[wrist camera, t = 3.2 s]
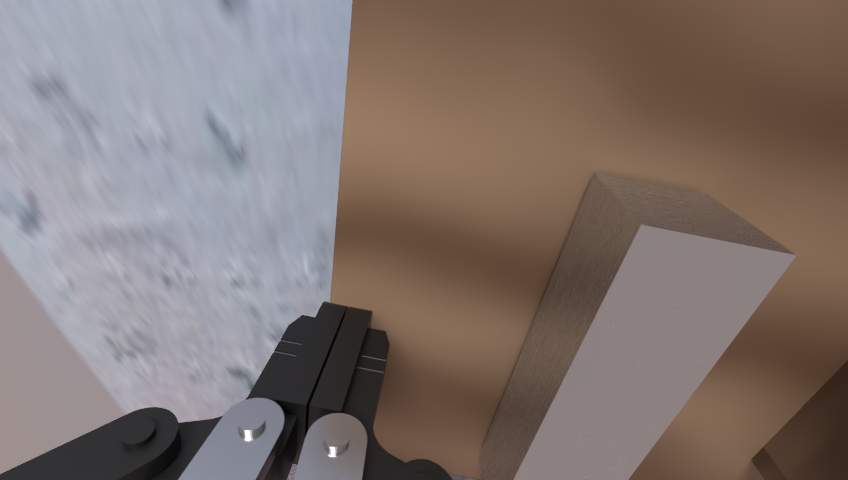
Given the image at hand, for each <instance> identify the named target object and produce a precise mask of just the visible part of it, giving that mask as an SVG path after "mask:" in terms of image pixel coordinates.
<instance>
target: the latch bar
mask: <svg viewBox="0 0 848 480" xmlns="http://www.w3.org/2000/svg"><path fill="white" fill-rule="evenodd" d="M796 256H797V255H796V254H794V253H793V252H791V251H790V250H788V249H787V248H785V247H784V246H782V245H781V244H780V243H778V242H777V241H775V240H774V239H772V238H771V237H769V236H768V235H766V234H765V233H764V232H762V231H761V230H759V229H758V228H756V227H755V226H753V225H752V224H750V223H749V222H747V221H746V220H745V219H743V218H742V217H740V216H739V215H737V214H736V213H734V212H733V211H731V210H730V209H729V208H727V207H726V206H724V205H723V204H721V203H720V202H718V201H717V200H715V199H714V198H712V197H711V196H710V195H706V194H701V193H696V192H691V191H686V190H681V189H676V188H671V187H666V186H660V185H655V184H650V183H645V182H640V181H635V180H630V179H625V178H620V177H615V176H610V175H605V174H600V173H595V172H594V173H593V176H592V178H591V181H590V183H589V186H588V188H587V191H586V193H585V196H584V198H583V200H582V203H581V205H580V208H579V210H578V213H577V215H576V218H575V220H574V223H573V225H572V228H571V230H570V233H569V235H568V237H567V240H566V242H565V245H564V247H563V250H562V252H561V255H560V257H559V260H558V262H557V265H556V267H555V270H554V272H553V274H552V277H551V279H550V282H549V284H548V287H547V289H546V292H545V294H544V297H543V299H542V302H541V304H540V307H539V309H538V311H537V314H536V316H535V319H534V321H533V324H532V326H531V329H530V331H529V334H528V336H527V339H526V341H525V344H524V346H523V348H522V351H521V353H520V356H519V358H518V361H517V363H516V366H515V368H514V371H513V373H512V376H511V378H510V381H509V383H508V385H507V388H506V390H505V393H504V395H503V398H502V400H501V403H500V405H499V408H498V410H497V413H496V415H495V418H494V420H493V422H492V425H491V427H490V430H489V432H488V435H487V437H486V440H485V442H484V445H483V447H482V450H481V452H480V473H481V480H628V479H629V478H630V477H631V475H632V474H633V473H634V471H635V470H636V469H637V467H638V466H639V465H640V463H641V462H642V461H643V459H644V458H645V457H646V455H647V454H648V453H649V451H650V450H651V449H652V447H653V446H654V445H655V443H656V442H657V441H658V439H659V438H660V437H661V435H662V434H663V433H664V431H665V430H666V429H667V427H668V426H669V425H670V423H671V422H672V421H673V419H674V418H675V417H676V415H677V414H678V413H679V411H680V410H681V409H682V407H683V406H684V405H685V403H686V402H687V401H688V399H689V398H690V397H691V395H692V394H693V393H694V391H695V390H696V389H697V388H698V386H699V385H700V384H701V382H702V381H703V380H704V378H705V377H706V376H707V374H708V373H709V372H710V370H711V369H712V368H713V366H714V365H715V364H716V362H717V361H718V360H719V358H720V357H721V356H722V354H723V353H724V352H725V350H726V349H727V348H728V346H729V345H730V344H731V342H732V341H733V340H734V338H735V337H736V336H737V334H738V333H739V332H740V330H741V329H742V328H743V326H744V325H745V324H746V322H747V321H748V320H749V318H750V317H751V316H752V314H753V313H754V312H755V310H756V309H757V308H758V306H759V305H760V304H761V302H762V301H763V300H764V298H765V297H766V296H767V294H768V293H769V292H770V290H771V289H772V288H773V286H774V285H775V284H776V282H777V281H778V280H779V278H780V277H781V276H782V274H783V273H784V272H785V270H786V269H787V268H788V266H789V265H790V264H791V262H792V261H793V260H794V258H795V257H796Z"/></svg>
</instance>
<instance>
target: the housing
mask: <svg viewBox="0 0 848 480" xmlns="http://www.w3.org/2000/svg"><path fill="white" fill-rule="evenodd" d="M594 172H595V173H600V174H605V175H610V176H615V177H620V178H625V179H630V180H635V181H640V182H645V183H650V184H655V185H660V186H666V187H671V188H676V189H681V190H686V191H691V192H696V193H701V194H706V195H710V196H711V197H712V198H714V199H715V200H717V201H718V202H720V203H721V204H723V205H724V206H726V207H727V208H729V209H730V210H731V211H733V212H734V213H736V214H737V215H739V216H740V217H742V218H743V219H745V220H746V221H747V222H749V223H750V224H752V225H753V226H755V227H756V228H758V229H759V230H761V231H762V232H764V233H765V234H766V235H768V236H769V237H771V238H772V239H774V240H775V241H777V242H778V243H780V244H781V245H782V246H784V247H785V248H787V249H788V250H790V251H791V252H793V253H794V254H796V255H797V256H796V257H795V258H794V260H793V261H792V262H791V264H790V265H789V266H788V268H787V269H786V270H785V272H784V273H783V274H782V276H781V277H780V278H779V280H778V281H777V282H776V284H775V285H774V286H773V288H772V289H771V290H770V292H769V293H768V294H767V296H766V297H765V298H764V300H763V301H762V302H761V304H760V305H759V306H758V308H757V309H756V310H755V312H754V313H753V314H752V316H751V317H750V318H749V320H748V321H747V322H746V324H745V325H744V326H743V328H742V329H741V330H740V332H739V333H738V334H737V336H736V337H735V338H734V340H733V341H732V342H731V344H730V345H729V346H728V348H727V349H726V350H725V352H724V353H723V354H722V356H721V357H720V358H719V360H718V361H717V362H716V364H715V365H714V366H713V368H712V369H711V370H710V372H709V373H708V374H707V376H706V377H705V378H704V380H703V381H702V382H701V384H700V385H699V386H698V388H697V389H696V390H695V391H694V393H693V394H692V395H691V397H690V398H689V399H688V401H687V402H686V403H685V405H684V406H683V407H682V409H681V410H680V411H679V413H678V414H677V415H676V417H675V418H674V419H673V421H672V422H671V423H670V425H669V426H668V427H667V429H666V430H665V431H664V433H663V434H662V435H661V437H660V438H659V439H658V441H657V442H656V443H655V445H654V446H653V447H652V449H651V450H650V451H649V453H648V454H647V455H646V457H645V458H644V459H643V461H642V462H641V463H640V465H639V466H638V467H637V469H636V470H635V471H634V473H633V474H632V475H631V477H630V478H629V479H628V480H848V0H353V4H352V17H351V30H350V44H349V57H348V71H347V84H346V98H345V111H344V124H343V138H342V151H341V165H340V178H339V191H338V205H337V218H336V232H335V245H334V259H333V272H332V285H331V299H330V303H334V304H339V305H344V306H348V308H349V307H355V308H360V309H366V310H371V311H373V316H372V323H371V328H372V329H377V330H383V331H386V334H387V337H388V340H389V344H390V347H389V352H388V358H387V363H386V369H385V374H384V380H383V384H382V389H381V393H380V398H379V402H378V407H377V412H376V416H375V421H374V425H373V430H374V434H375V437H376V439H377V441H378V442H379V444H380V445H381V446H382V448H384V449H385V450H386V451H387V452H388V453H390V454H391V455H393V456H395V457H397V458H398V459H400V460H402V461H403V462H405V463H406V462H408V461H411V460H414V459H427V460H430V461H433V462H435V463H437V464H438V465H440V466H441V467H442V468H443V469H444V470H445V471H446V472H447V473H448V474H453V475H458V476H463V477H469V478H474V479H479V480H481V473H480V452H481V450H482V447H483V445H484V442H485V440H486V437H487V435H488V432H489V430H490V427H491V425H492V422H493V420H494V418H495V415H496V413H497V410H498V408H499V405H500V403H501V400H502V398H503V395H504V393H505V390H506V388H507V385H508V383H509V381H510V378H511V376H512V373H513V371H514V368H515V366H516V363H517V361H518V358H519V356H520V353H521V351H522V348H523V346H524V344H525V341H526V339H527V336H528V334H529V331H530V329H531V326H532V324H533V321H534V319H535V316H536V314H537V311H538V309H539V307H540V304H541V302H542V299H543V297H544V294H545V292H546V289H547V287H548V284H549V282H550V279H551V277H552V274H553V272H554V270H555V267H556V265H557V262H558V260H559V257H560V255H561V252H562V250H563V247H564V245H565V242H566V240H567V237H568V235H569V233H570V230H571V228H572V225H573V223H574V220H575V218H576V215H577V213H578V210H579V208H580V205H581V203H582V200H583V198H584V196H585V193H586V191H587V188H588V186H589V183H590V181H591V178H592V176H593V173H594Z"/></svg>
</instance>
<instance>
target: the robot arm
mask: <svg viewBox="0 0 848 480" xmlns="http://www.w3.org/2000/svg"><path fill="white" fill-rule="evenodd" d="M372 316H373V311H371V310H366V309H360V308H355V307H349V308H348V306H344V305H339V304H334V303H329V302H323V303H322V305H321V307H320V309H319V311H318V313H317V315H316V317H310V316H304V315H302V316H301V317H299V318H298V319H297V320H295V321H294V322H293V323H291V324H290V325H289V326H288V328H287V329H286V331H285V333H284V335H283V336H282V338H281V341H280V342H279V343H278V345H277V347H276V349H275V351H274V353H273V354H272V356H271V357H270V359H269V361H268V363H267V364H266V366H265V368H264V370H263V371H262V373H261V375H260V377H259V378H258V380H257V382H256V384H255V385H254V387H253V389H252V391H251V392H250V394H249V396H248V397H247V399H246V400H244V401H241V402H239V403H237V404H236V405H234V406H233V407H231V408H230V409H229V410H228V411H227V412H226V413H225V414H224V415H223V416H221V417H218V418H214V419H209V420H201V421H192V422H183V423H178V421H177V418H176V416H175V415H174V414H173V413H172V412H170V411H169V410H167V409H163V408H157V407H152V408H144V409H140V410H137V411H134V412H131V413H129V414H127V415H125V416H123V417H120V418H118V419H116V420H114V421H112V422H110V423H108V424H106V425H104V426H101V427H99V428H97V429H95V430H93V431H91V432H89V433H87V434H85V435H82V436H80V437H78V438H76V439H74V440H72V441H70V442H68V443H65V444H63V445H61V446H59V447H57V448H55V449H53V450H51V451H49V452H46V453H45V454H42V455H40V456H38V457H36V458H34V459H32V460H30V461H27V462H25V463H23V464H21V465H19V466H17V467H15V468H13V469H11V470H9V471H6V472H4V473H2V474H0V480H287V477H288V475H289V472H290V469H291V467H292V464H298V465H297V468H296V472H295V475H294V479H293V480H452V479H451V477H450V476H449V474H448V473H447V472H446V471H445V470H444V469H443V468H442V467H441V466H440V465H438V464H437V463H435V462H433V461H430V460H427V459H414V460H411V461H408V462H406V463H405V462H403V461H402V460H400V459H398V458H397V457H395V456H393V455H391V454H390V453H388V452H387V451H386V450H385V449H384V448H382V446H381V445H380V444H379V442H378V441H377V439H376V437H375V434H374V430H373V425H374V421H375V416H376V412H377V407H378V402H379V398H380V393H381V389H382V384H383V380H384V374H385V369H386V363H387V358H388V352H389V347H390V344H389V340H388V337H387V334H386V331H383V330H377V329H372V328H371V323H372Z"/></svg>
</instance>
